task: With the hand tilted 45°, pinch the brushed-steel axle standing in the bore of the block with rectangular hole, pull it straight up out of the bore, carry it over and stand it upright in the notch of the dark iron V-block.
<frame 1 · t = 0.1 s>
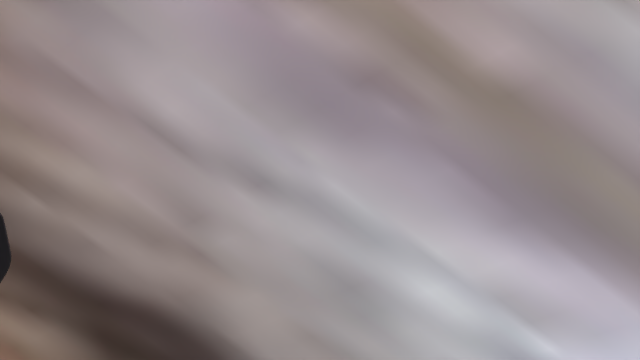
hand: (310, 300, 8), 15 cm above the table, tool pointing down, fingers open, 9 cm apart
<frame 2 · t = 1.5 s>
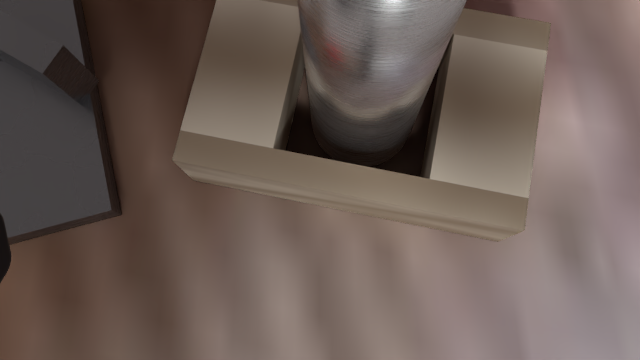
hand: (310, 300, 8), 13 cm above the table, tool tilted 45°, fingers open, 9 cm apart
block with rectangular hole: (361, 118, 22), on the table
axle: (371, 51, 17), in the block with rectangular hole
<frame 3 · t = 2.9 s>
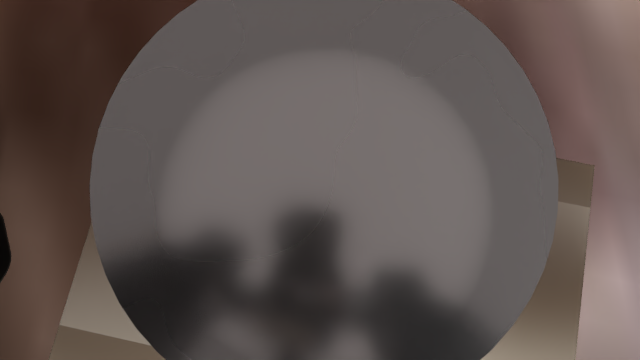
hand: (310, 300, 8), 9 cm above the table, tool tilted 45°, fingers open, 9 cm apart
block with rectangular hole: (329, 274, 16), on the table
axle: (327, 250, 11), in the block with rectangular hole
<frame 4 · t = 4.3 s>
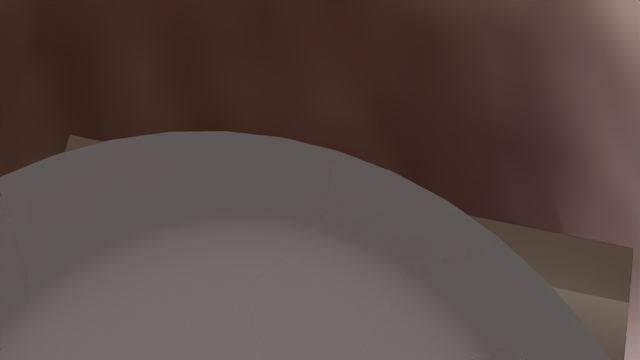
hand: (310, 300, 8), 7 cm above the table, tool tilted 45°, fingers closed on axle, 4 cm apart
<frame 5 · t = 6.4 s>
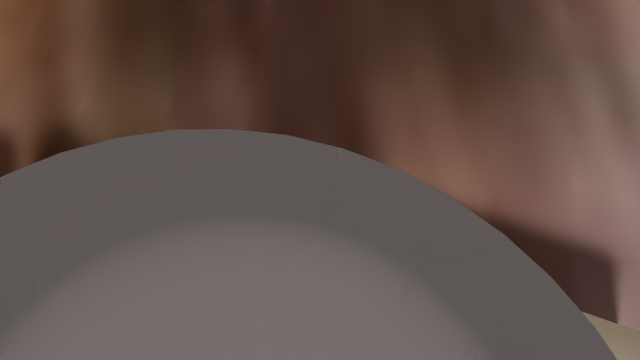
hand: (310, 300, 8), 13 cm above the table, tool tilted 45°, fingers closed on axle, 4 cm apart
when the fingers open (9 cm above the table, at t = 8.7 s): axle drops 1 cm, resting on V-block.
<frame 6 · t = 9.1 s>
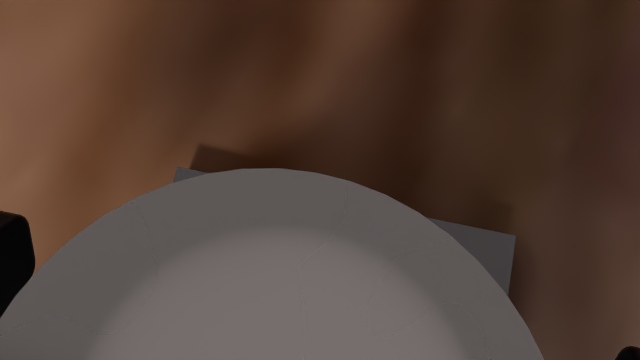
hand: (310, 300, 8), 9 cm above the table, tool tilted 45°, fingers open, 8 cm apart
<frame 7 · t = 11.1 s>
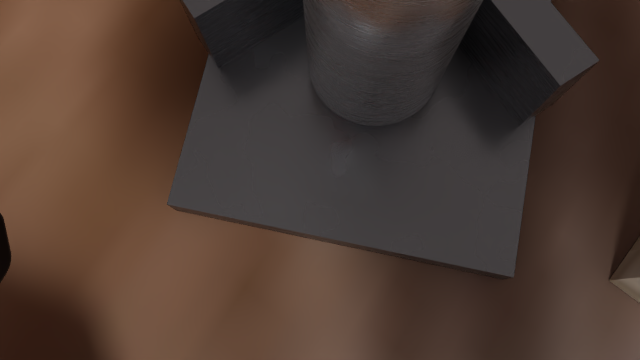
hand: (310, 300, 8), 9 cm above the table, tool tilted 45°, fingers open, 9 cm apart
V-block: (368, 90, 18), on the table
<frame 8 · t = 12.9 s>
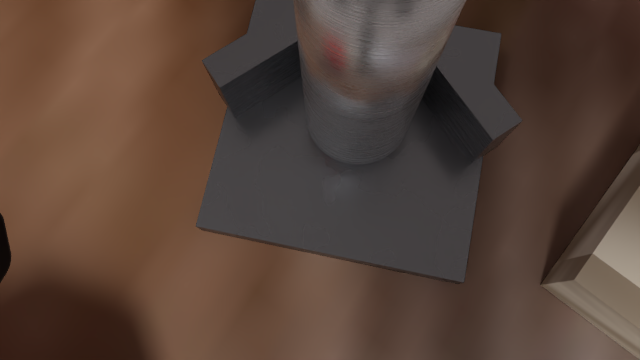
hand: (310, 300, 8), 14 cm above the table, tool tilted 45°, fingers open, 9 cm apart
V-block: (353, 134, 22), on the table
axle: (369, 41, 16), point 7 cm above the table, touching V-block
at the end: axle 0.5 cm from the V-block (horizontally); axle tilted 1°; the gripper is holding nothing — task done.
